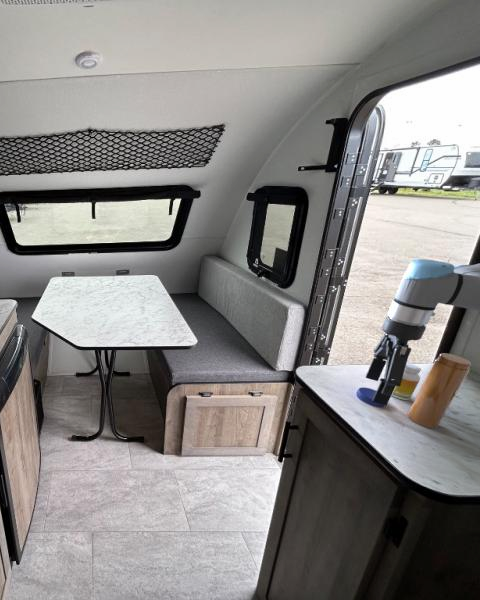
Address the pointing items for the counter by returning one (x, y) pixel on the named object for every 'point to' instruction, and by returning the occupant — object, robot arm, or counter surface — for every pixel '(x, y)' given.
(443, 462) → the counter surface
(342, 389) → the counter surface
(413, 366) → the supplement bottle
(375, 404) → the jar lid
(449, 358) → the jar
